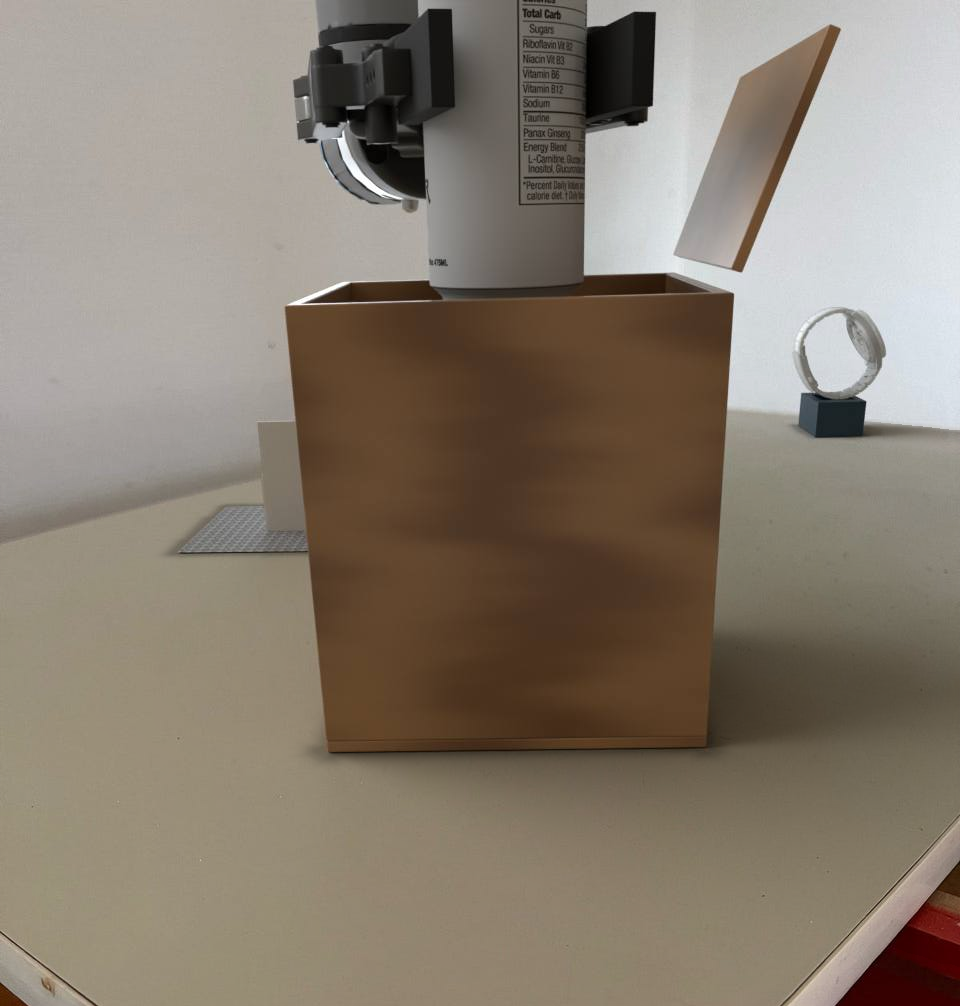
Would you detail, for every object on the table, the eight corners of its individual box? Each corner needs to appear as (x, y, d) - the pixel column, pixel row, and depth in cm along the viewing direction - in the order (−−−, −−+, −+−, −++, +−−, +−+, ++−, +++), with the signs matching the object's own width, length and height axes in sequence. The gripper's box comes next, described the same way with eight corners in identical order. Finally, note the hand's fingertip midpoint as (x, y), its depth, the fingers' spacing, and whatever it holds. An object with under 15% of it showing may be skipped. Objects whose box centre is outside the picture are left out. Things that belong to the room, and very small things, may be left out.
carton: (660, 625, 52) (675, 272, 46) (706, 747, 40) (734, 292, 34) (368, 630, 53) (341, 281, 46) (327, 752, 41) (284, 305, 34)
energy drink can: (488, 301, 44) (479, -118, 39) (611, 304, 41) (621, -152, 35) (399, 313, 40) (374, -158, 34) (529, 317, 37) (526, -203, 31)
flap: (672, 254, 46) (680, 257, 46) (730, 269, 34) (742, 273, 34) (740, 76, 43) (749, 80, 43) (829, 23, 31) (842, 28, 31)
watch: (884, 435, 94) (899, 309, 90) (795, 437, 94) (807, 311, 90) (863, 423, 99) (877, 304, 95) (779, 425, 99) (789, 306, 95)
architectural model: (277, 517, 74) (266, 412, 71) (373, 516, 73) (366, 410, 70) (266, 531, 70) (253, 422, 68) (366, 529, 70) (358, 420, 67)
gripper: (587, 196, 57) (803, 181, 36) (238, 205, 53) (255, 194, 32) (589, 41, 54) (825, -72, 33) (220, 38, 50) (226, -92, 29)
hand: (544, 59), depth 33 cm, fingers closed on energy drink can, 6 cm apart
